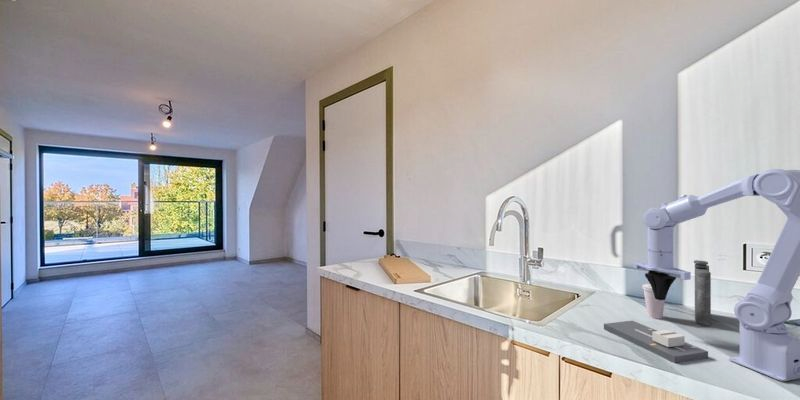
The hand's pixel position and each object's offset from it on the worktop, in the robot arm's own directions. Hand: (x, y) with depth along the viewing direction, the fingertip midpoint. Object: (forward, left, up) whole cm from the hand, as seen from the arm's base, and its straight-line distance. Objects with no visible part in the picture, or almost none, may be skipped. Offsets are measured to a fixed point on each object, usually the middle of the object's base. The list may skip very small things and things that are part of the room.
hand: (660, 299), depth 93 cm
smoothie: (+10, -10, -10) cm, 17 cm away
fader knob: (-9, +8, -8) cm, 14 cm away
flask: (+5, -22, -10) cm, 25 cm away
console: (-4, +8, -9) cm, 13 cm away
